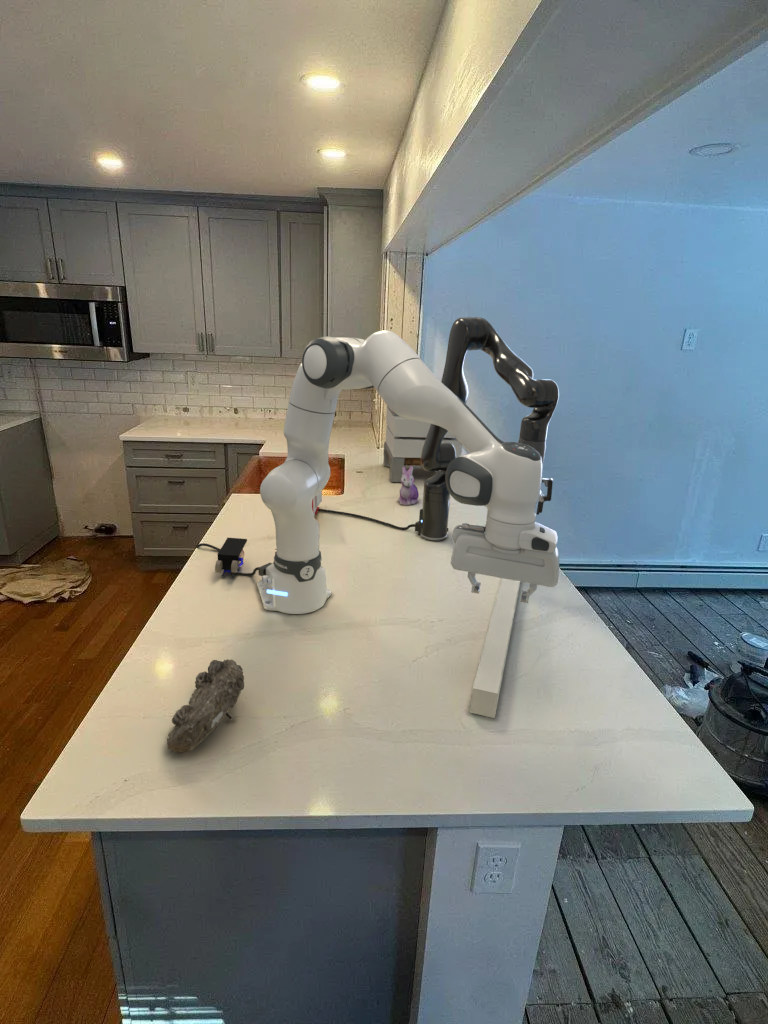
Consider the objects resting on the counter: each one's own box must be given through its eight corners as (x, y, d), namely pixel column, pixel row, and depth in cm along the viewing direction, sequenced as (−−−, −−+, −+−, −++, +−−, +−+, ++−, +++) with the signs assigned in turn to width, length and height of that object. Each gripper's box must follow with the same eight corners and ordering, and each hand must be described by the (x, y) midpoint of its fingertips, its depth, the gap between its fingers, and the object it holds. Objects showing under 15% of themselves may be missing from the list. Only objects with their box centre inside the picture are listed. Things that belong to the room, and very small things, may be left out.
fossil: (192, 660, 117) (244, 628, 112) (224, 691, 120) (276, 661, 115) (142, 746, 98) (202, 712, 93) (182, 779, 101) (242, 748, 96)
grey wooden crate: (382, 463, 289) (386, 382, 275) (445, 464, 293) (451, 384, 279) (390, 482, 257) (394, 392, 243) (460, 483, 261) (468, 394, 247)
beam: (505, 572, 174) (507, 555, 172) (521, 575, 172) (524, 557, 171) (469, 712, 112) (472, 688, 110) (494, 718, 111) (498, 693, 109)
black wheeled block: (238, 584, 162) (249, 557, 175) (236, 562, 158) (247, 536, 172) (215, 584, 161) (227, 556, 175) (212, 561, 158) (225, 535, 171)
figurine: (404, 507, 227) (406, 470, 222) (392, 499, 235) (393, 464, 230) (424, 504, 231) (426, 468, 226) (411, 496, 239) (413, 462, 234)
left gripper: (451, 527, 105) (444, 593, 110) (565, 546, 100) (552, 614, 105) (457, 516, 111) (450, 579, 116) (565, 533, 106) (553, 599, 110)
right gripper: (501, 455, 151) (494, 512, 157) (557, 461, 147) (548, 519, 153) (504, 448, 158) (498, 503, 163) (557, 455, 154) (549, 511, 160)
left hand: (499, 596), depth 110 cm, fingers open, 8 cm apart
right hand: (522, 511), depth 158 cm, fingers open, 8 cm apart
